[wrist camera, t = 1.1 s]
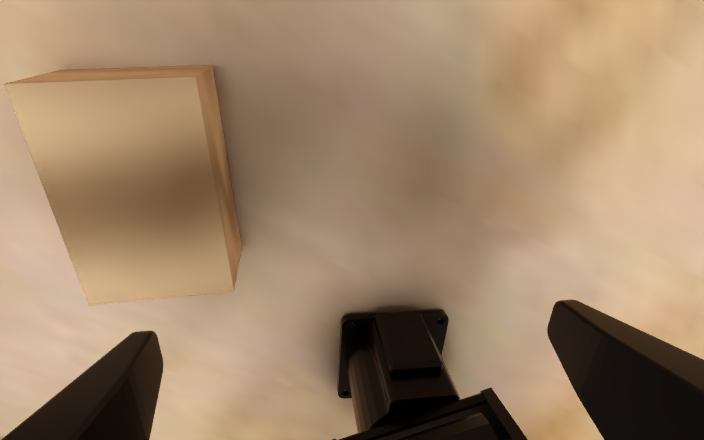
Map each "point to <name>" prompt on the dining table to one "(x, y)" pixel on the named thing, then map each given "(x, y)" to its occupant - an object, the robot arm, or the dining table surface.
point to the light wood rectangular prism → (135, 178)
